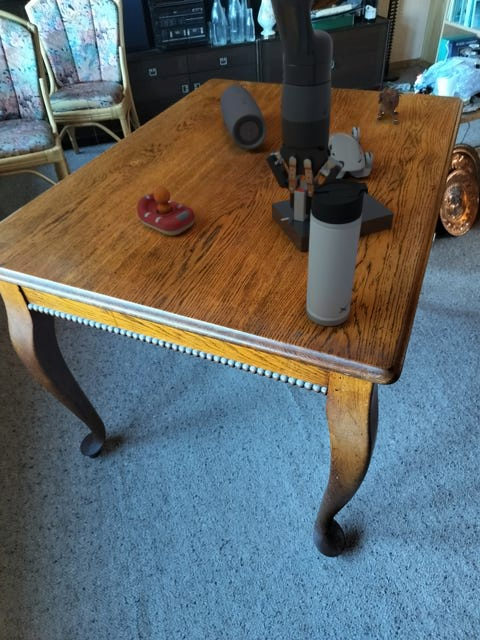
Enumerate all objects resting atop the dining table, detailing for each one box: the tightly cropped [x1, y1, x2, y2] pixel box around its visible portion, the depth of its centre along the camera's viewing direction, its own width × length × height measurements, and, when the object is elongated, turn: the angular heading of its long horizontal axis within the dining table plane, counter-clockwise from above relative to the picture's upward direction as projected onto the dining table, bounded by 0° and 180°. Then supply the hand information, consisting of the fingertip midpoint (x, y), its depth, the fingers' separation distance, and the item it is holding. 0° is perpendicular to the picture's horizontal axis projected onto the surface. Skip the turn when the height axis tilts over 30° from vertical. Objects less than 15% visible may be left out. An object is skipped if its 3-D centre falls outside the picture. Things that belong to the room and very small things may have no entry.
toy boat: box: [136, 186, 196, 237], centre depth 88 cm, size 8×12×8 cm, turn 51°
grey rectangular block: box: [294, 179, 308, 222], centre depth 82 cm, size 4×2×6 cm, turn 152°
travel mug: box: [305, 178, 369, 327], centre depth 62 cm, size 6×7×20 cm
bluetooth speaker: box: [219, 84, 268, 150], centre depth 117 cm, size 23×9×10 cm, turn 9°
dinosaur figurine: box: [376, 84, 405, 125], centre depth 120 cm, size 14×6×9 cm, turn 163°
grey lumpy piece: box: [320, 126, 374, 180], centre depth 105 cm, size 11×24×5 cm, turn 178°
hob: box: [271, 192, 395, 253], centre depth 86 cm, size 19×13×3 cm
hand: (303, 211), depth 83 cm, fingers closed on grey rectangular block, 2 cm apart
